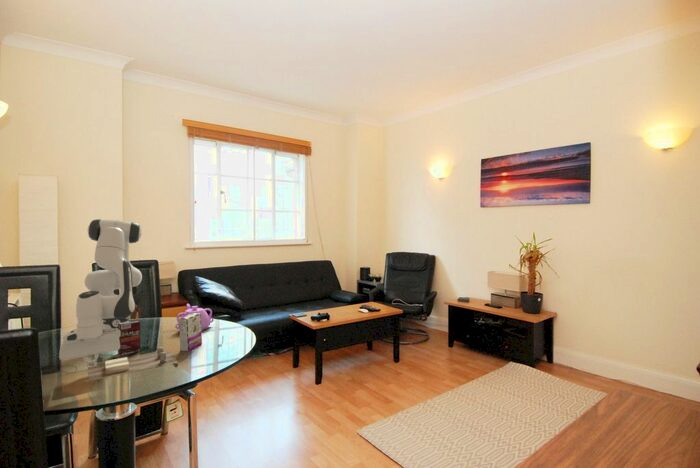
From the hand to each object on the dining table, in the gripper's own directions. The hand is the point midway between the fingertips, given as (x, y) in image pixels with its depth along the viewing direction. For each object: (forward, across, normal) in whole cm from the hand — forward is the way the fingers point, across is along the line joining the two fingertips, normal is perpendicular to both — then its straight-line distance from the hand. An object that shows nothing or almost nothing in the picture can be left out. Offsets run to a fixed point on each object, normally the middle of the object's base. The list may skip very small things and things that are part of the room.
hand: (91, 365), depth 148 cm
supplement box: (+5, -15, -20) cm, 26 cm away
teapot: (+5, -50, -49) cm, 70 cm away
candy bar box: (+5, -41, -13) cm, 43 cm away
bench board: (+5, -15, 0) cm, 16 cm away
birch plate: (+3, -9, 0) cm, 9 cm away
